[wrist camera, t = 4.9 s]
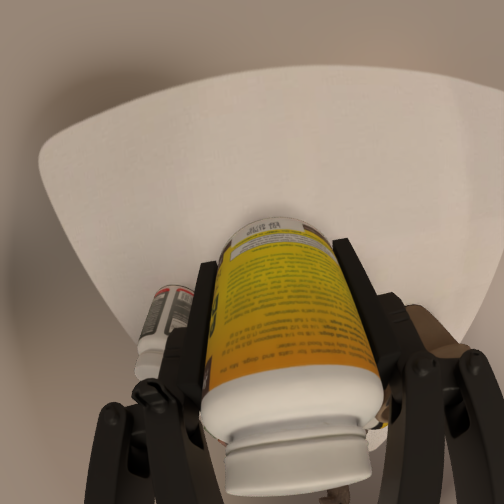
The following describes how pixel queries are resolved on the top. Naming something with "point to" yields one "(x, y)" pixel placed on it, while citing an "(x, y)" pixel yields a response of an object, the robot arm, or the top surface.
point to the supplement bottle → (287, 365)
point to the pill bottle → (161, 328)
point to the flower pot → (427, 345)
